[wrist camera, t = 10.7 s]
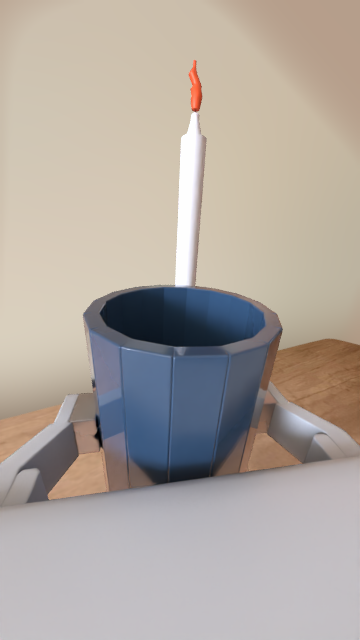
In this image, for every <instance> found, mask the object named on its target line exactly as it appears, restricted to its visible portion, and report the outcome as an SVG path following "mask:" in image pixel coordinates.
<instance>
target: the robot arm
mask: <svg viewBox="0 0 360 640" xmlns="http://www.w3.org/2000/svg"><path fill="white" fill-rule="evenodd" d="M260 433H267V434H268V435H269V436H270V437H272V438H273V439H274V440H275V441H276V442H278V443H279V444H280V445H281V446H282V447H284V448H285V449H286V450H287V451H288V452H290V453H291V454H292V455H293V456H294V457H296V458H297V459H298V460H299V461H300V462H302V463H303V464H298V465H291V466H284V467H277V468H270V469H263V470H256V471H249V472H242V473H235V474H228V475H221V476H214V477H207V478H200V479H193V480H186V481H179V482H172V483H165V484H158V485H151V486H144V487H137V488H130V489H123V490H116V491H109V492H102V493H95V494H88V495H81V496H74V497H67V498H60V499H53V500H49V499H48V496H47V495H48V493H49V492H50V491H51V490H52V488H53V487H54V486H55V485H56V483H57V482H58V481H59V480H60V478H61V477H62V476H63V475H64V473H65V472H66V471H67V470H68V468H69V467H70V466H71V465H72V463H73V462H74V461H75V460H76V458H77V457H78V456H79V455H78V454H85V453H92V452H99V451H100V448H101V445H100V437H99V432H98V422H97V415H96V409H95V402H94V394H93V393H84V394H83V393H81V394H68V395H67V396H66V397H65V400H64V402H63V404H62V406H61V408H60V411H59V413H58V415H57V417H56V420H55V422H54V424H49V425H48V426H47V427H46V428H44V429H43V430H42V431H41V432H39V433H38V434H37V435H36V436H34V437H33V438H32V439H31V440H29V441H28V442H27V443H25V444H24V445H23V446H22V447H20V448H19V449H18V450H17V451H15V452H14V453H13V454H12V455H10V456H9V457H8V458H7V459H5V460H4V461H3V462H2V463H0V640H360V446H359V445H358V444H357V443H356V442H355V441H354V440H353V439H352V438H351V437H350V436H349V435H348V433H347V432H346V431H345V430H343V429H341V428H339V427H337V426H335V425H333V424H331V423H330V422H328V421H326V420H324V419H322V418H320V417H318V416H316V415H315V414H313V413H311V412H309V411H307V410H305V409H303V408H301V407H300V406H298V405H296V404H294V403H292V402H288V401H287V400H286V399H285V398H284V396H283V395H282V394H281V393H280V392H279V390H278V389H277V388H276V387H275V386H274V384H273V383H272V382H271V381H269V385H268V389H267V393H266V397H265V401H264V405H263V408H262V412H261V416H260V420H259V424H258V428H257V432H256V434H260Z"/></svg>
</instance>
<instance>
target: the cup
mask: <svg viewBox="0 0 360 640" xmlns="http://www.w3.org/2000/svg"><path fill="white" fill-rule="evenodd" d="M83 320H84V327H85V335H86V341H87V349H88V357H89V364H90V372H91V379H92V386H93V394H94V402H95V409H96V415H97V422H98V432H99V437H100V445H101V454H102V461H103V469H104V476H105V484H106V491H107V492H109V491H116V490H123V489H130V488H137V487H144V486H151V485H158V484H165V483H172V482H179V481H186V480H193V479H200V478H207V477H214V476H221V475H228V474H235V473H242V472H246V471H247V467H248V463H249V459H250V455H251V451H252V447H253V444H254V440H255V436H256V432H257V428H258V424H259V420H260V416H261V412H262V408H263V405H264V401H265V397H266V393H267V389H268V385H269V381H270V377H271V373H272V370H273V366H274V362H275V358H276V354H277V350H278V346H279V342H280V338H281V335H282V330H283V329H282V326H281V323H280V321H279V318H278V315H277V314H276V313H275V312H273V311H272V310H270V309H269V308H267V307H266V306H265V305H263V304H261V303H260V302H258V301H255V300H252V299H250V298H247V297H245V296H242V295H239V294H236V293H232V292H227V291H223V290H219V289H213V288H206V287H198V286H189V285H188V286H187V285H154V286H142V287H134V288H129V289H125V290H121V291H116V292H112V293H110V294H108V295H105V296H103V297H101V298H99V299H96V300H95V301H93V302H92V303H91V305H90V306H89V307H88V308H87V310H86V311H85V312H84V314H83Z"/></svg>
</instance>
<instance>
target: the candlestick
mask: <svg viewBox="0 0 360 640" xmlns="http://www.w3.org/2000/svg"><path fill="white" fill-rule="evenodd" d="M189 77H190V80H191V82H192V85H193V86H192V88H191V95H192V97H191V107H192V111H195V112H194V113H193V114H192V115H191V122H190V126H189V129H188V133H187V134H186V135H184V136H182V138H181V160H180V184H179V208H178V210H179V211H178V233H177V257H176V281H175V285H187V286H188V285H189V286H195V281H196V268H197V254H198V242H199V229H200V215H201V203H202V190H203V177H204V164H205V151H206V137H204V136H203V135H201V130H200V124H199V114H198V113H197V112H196V111H199V109H200V105H201V100H202V92H201V87H202V86H201V83H200V81H199V78H198V75H197V71H196V61H195V60H194V63H193V68H192V69H191V71H190V73H189Z"/></svg>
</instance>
